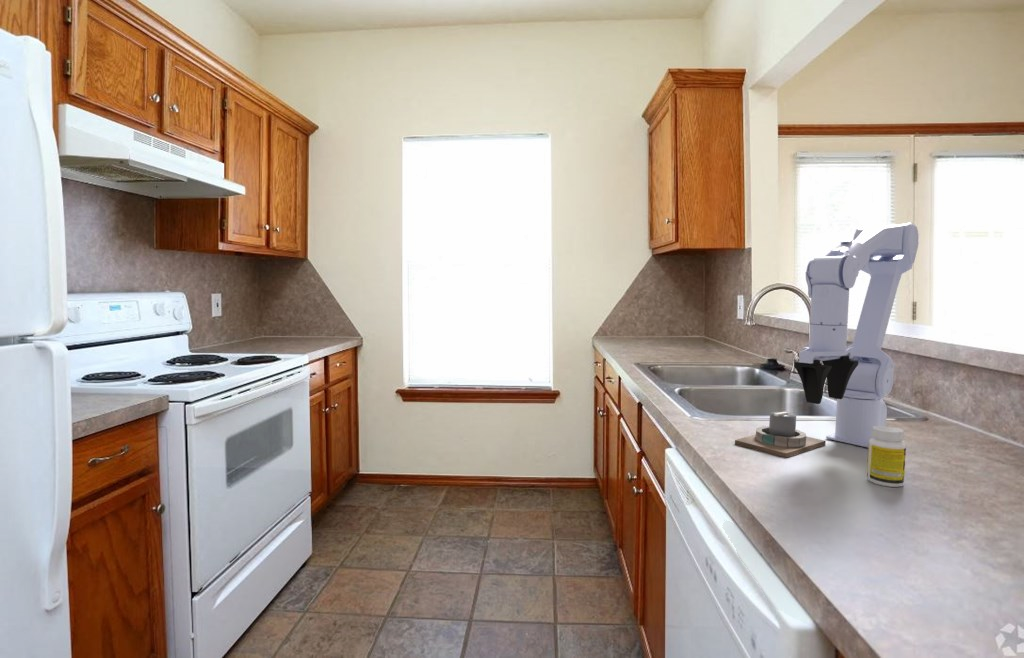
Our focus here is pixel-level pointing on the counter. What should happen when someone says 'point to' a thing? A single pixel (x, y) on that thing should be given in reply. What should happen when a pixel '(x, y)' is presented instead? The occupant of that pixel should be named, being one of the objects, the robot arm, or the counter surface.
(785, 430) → the knob
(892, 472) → the supplement bottle
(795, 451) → the hub plate
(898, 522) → the counter surface
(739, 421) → the counter surface
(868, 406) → the robot arm
